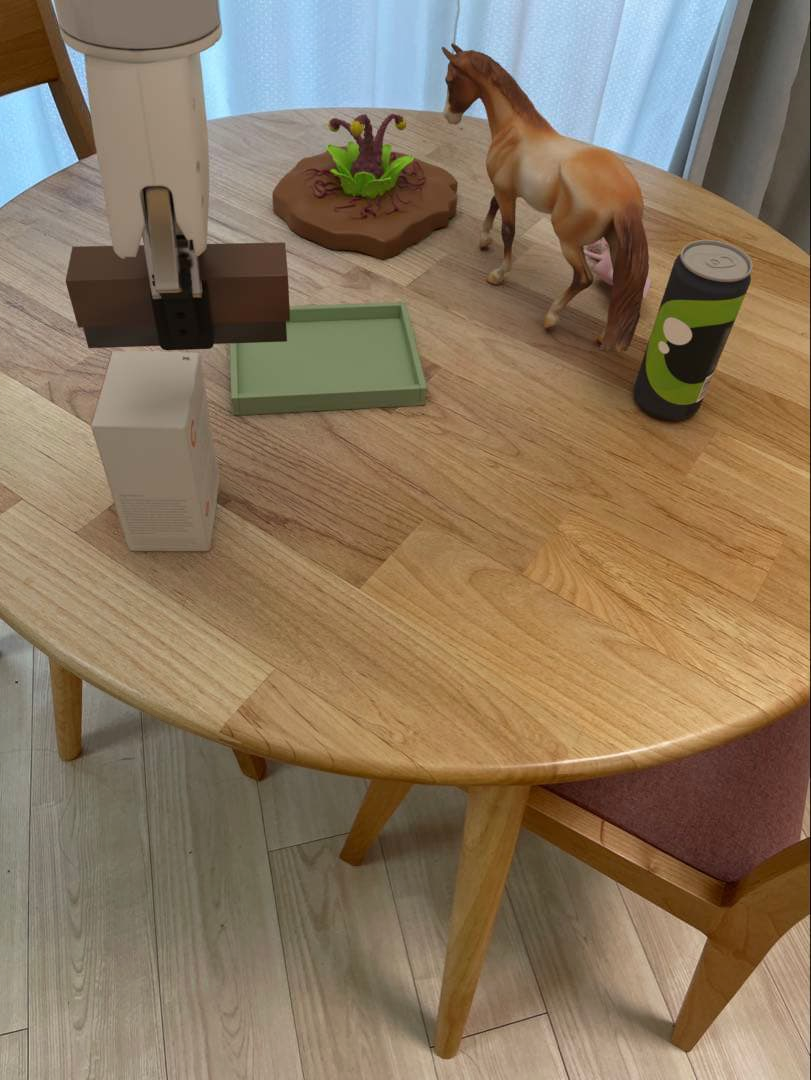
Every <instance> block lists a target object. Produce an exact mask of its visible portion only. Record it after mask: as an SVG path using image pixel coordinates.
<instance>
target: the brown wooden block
mask: <svg viewBox="0 0 811 1080" xmlns="http://www.w3.org/2000/svg"><path fill="white" fill-rule="evenodd" d="M198 258H199V266H200V274H201V282H202V287H207V291H208V298H209V306H210V314H211V321H212V329H213V336H214V345H227V344H228V345H230V344H231V343H260V342H286V341H287V329H286V321H290V306H291V305H290V290H289V289H290V287H289V271H288V260H287V248H286V242H284V241H283V242H282V241H281V242H237V243H235V242H234V243H232V242H231V243H207V247H206V249H205V251H204V252H203V253H202V254H201V255H200V256H198ZM178 259H179V266H180V268H187V271H188V273H189V267H188V259H187V257H178ZM65 284H66V288H67V293H68V296H69V299H70V304H71V307H72V310H73V314H74V318H75V322H76V325H77V328H79V329H80V328H81V329H82V331H83V334H84V337H85V341H86V345H87V348H88V349H108V348H109V349H111V348H138V347H139V348H140V347H160V344H159V339H158V334H157V329H156V323H155V318H154V313H153V307H152V302H151V297H150V289H151V287H150V281H149V274H148V268H147V262H146V256H145V252H144V244H140V245H139V248H138V252H137V255H136V257H128V258H127V259H122V258H120V257H119V256H118V255H117V254H116V253H115V252H114V250H113V245H81V246H78V245H77V246H75V245H74V246H72V247H71V252H70V255H69V261H68V265H67V271H66V276H65Z"/></svg>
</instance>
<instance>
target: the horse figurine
mask: <svg viewBox="0 0 811 1080" xmlns="http://www.w3.org/2000/svg"><path fill="white" fill-rule="evenodd" d="M450 46H451V48H452V49H453V51H454V53H455V54H454V53H452V52H451V51H450V50H448V49H447V48H446V47H445V46H441V50H442V53H443V54H444V56H445V57H446V58H447V60H448V61H449V62H448V63H447V73H446V76H445V77H444V81H445V83H446V86H447V88H446V99H445V103H444V109H443V110H442V114H443V117H444V119H445V120H446V121H447V123H448V124H449V125H456V126H457V125H459V124H460V123H461V121H462V119H463V118H462V117H463V115H464V114H465V113H466V112H467V111H468V110H469V108H471V106H472V105H473V104H474V103H475V102H476V101H477V100H478V99H480V100H481V102H482V105H483V107H484V109H485V113H486V118H487V121H488V126H489V130H490V137H491V143H490V145H489V147H488V150H487V154H486V159H485V168H486V174H487V176H488V178H489V180H490V182H491V184H492V186H493V194H494V195H493V196H492V198H491V199H490V202H489V209H488V212H487V214H486V216H485V218H484V220H483V222H482V231H481V233H480V240H479V242H478V247H479V248H484V247H487V246H490V245H492V244H493V240H494V237H493V234H492V233H491V230H492V229H493V228H494V227H493V226H494V221H495V219H496V216H497V213H498V211H499V212H500V216H501V226H500V232H501V233H500V234H501V239H502V242H503V257H502V261H501V263H500V266H499V268H495V269H493V270H492V271H491V272H490V273H489V274H488V276H487V277H486V281H487V282H488V283H490V284H493V285H500V284H502V282H503V280H505V274H508V273H510V272H511V270H512V267H513V266H512V250H513V243H514V239H515V236H516V210H517V209H516V208H517V207H516V206H517V198H521V199H523V200H524V202H526V204H528V205H529V206H530V207H531V208H532V209H533V210H535V211H537V212H538V213H539V212H540V213H542V214H545V215H550V223H551V225H552V229H553V231H554V234H555V236H556V237H557V238H558V240H559V244H560V250H561V253H562V255H563V257H564V259H565V260H566V262H567V263H568V264H569V266H570V267H571V268H572V270H573V276H572V281H571V283H570V285H569V286H568V287H567V288H566V290H565V291H564V292H563V293H561V294H560V295H559V296H558V297H557V298H555V299H554V300H553V301H552V303H551V306H550V308H549V310H548V311H547V313H546V315H545V320H544V323H543V328H544V329H548V328H551V327H553V326H555V325H558V324H559V323H560V315H559V312H561V311H564V309H565V308H566V307H567V305H568V304H569V303H570V302H571V301H572V300H573V299H574V298H575V297H576V296H577V295H578V294H580V293H581V292H582V291H584V290H587V289H588V288H590V287H591V286H592V285H593V282H594V280H595V279H594V278H595V276H594V274H593V271H592V270H591V268H590V267H589V264H588V262H587V258H586V255H585V254H584V250H583V249H584V247H585V246H586V247H587V245H589V244H592V243H595V242H597V241H599V240H600V239H601V238H603V237H604V239H605V240H606V241H607V243H608V245H609V250H610V257H611V263H612V268H613V286H612V289H611V292H610V295H609V301H608V310H607V319H606V326H605V329H604V330H603V331H602V332H601V333H599V335H598V336H597V337H596V338H597V341H599V343H600V345H599V347H598V351H599V352H602V351H605V352H606V353H607V352H610V351H611V350H612V349H614V350H615V351H616V352H617V353H620V352H626V351H627V350H628V348H629V347H630V346H631V343H632V340H633V339H634V335H635V333H636V330H637V325H638V323H639V320H640V317H641V315H640V314H641V307H642V302H643V300H644V298H643V292H644V287H645V284H646V279H647V276H648V275H649V269H650V264H649V261H650V255H649V244H648V239H647V235H646V230H645V227H644V223H643V215H644V208H645V203H644V198H643V193H642V190H641V189H642V188H641V186H640V185H639V182H638V181H637V179H636V178H635V176H634V175H633V173H632V172H631V171H630V169H629V168H628V167H627V166H626V164H625V163H624V162H623V160H622V159H621V158H620V157H619V156H617V154H615V153H614V152H612V151H611V150H609V149H607V148H603V147H597V146H589V145H585V144H582V143H580V142H577V141H574V140H572V139H569V138H567V137H565V136H563V135H561V134H560V133H559V132H558V131H557V130H556V129H555V128H554V127H553V126H552V125H551V124H550V123H549V121H548V120H547V119H546V118H545V117H544V116H543V115H542V114H541V113H540V112H539V111H538V110H537V109H536V107H535V105H534V103H533V101H532V100H531V99H530V98H529V96H528V95H527V93H526V92H525V91H524V90H523V89H522V87H521V86H520V85H519V84H518V82H517V80H516V79H515V78H514V77H513V75H511V74H510V73H509V72H508V70H506V69H505V68H504V67H503V66H502V65H501V64H500V63H499V62H498V61H496V60H495V59H494V58H493V57H492V56H490V55H488V54H485V53H484V52H481V51H476V50H474V49H469V50H464V49H462V48H461V47H460V46H459V45H457V44H455V43H454V42H452V43H451V44H450Z"/></svg>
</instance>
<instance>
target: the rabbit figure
mask: <svg viewBox="0 0 811 1080" xmlns="http://www.w3.org/2000/svg"><path fill="white" fill-rule="evenodd" d="M583 250H584V254H585V257H589V258H592V259H594V260H597V261H599V262H598V263H596V264H595V266H594V268H593V272H594V275H596V277H598V278H599V279H600V280H602V281H603V282H604V283H606V284H607V285H610V286H612V287H613V268H612V263H611V257H610V250H609V245H608V243H607V241H606V240H605V239H604V237H603V238H601V239H600V240H599V241H597V242H595V243H592V244H589V245H586V249H584V248H583ZM651 285H652V281H651V276H650V275H649V274H648V276H647V279H646V284H645V287H644V292H643V299H645V298H647V296H648V295H649V292H650V288H651Z"/></svg>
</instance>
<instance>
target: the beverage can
mask: <svg viewBox="0 0 811 1080" xmlns="http://www.w3.org/2000/svg"><path fill="white" fill-rule="evenodd" d="M753 267H754V264H753V261H752V259H751V257H750V256H749V255H748V254H747V253H746V252H745V251H743V249H740V248H739V247H737V246H735V245H733V244H730V243H727V242H724V241H720V240H713V239H698V240H694V241H691V242H688V243H687V244H685V245H684V246H683V247H682V249H681V251H680V254H678V255H677V256H676V258H675V260H674V261H673V265H672V268H671V271H670V274H669V278H668V280H667V283H666V287H665V289H664V293H663V296H662V299H661V302H660V305H659V308H658V310H657V314H656V317H655V320H654V324H653V326H652V330H651V333H650V336H649V338H648V342H647V345H646V348H645V350H644V354H643V358H642V361H641V364H640V367H639V370H638V372H637V376H636V379H635V382H634V385H633V397H634V398H635V400H636V401H637V404H638V405H639V408H641V409H642V410H643V411H644V412H645V413H647V414H648V415H650V416H652V417H654V418H656V419H659V420H662V421H663V420H664V421H680V420H683V419H686V418H688V417H690V416H693V415H694V414H695V413H697V412H698V411H699V409H700V408H701V405H702V404H703V403H702V402H703V400H704V398H705V397H706V396H705V395H706V393H707V391H708V388H709V385H710V383H711V381H712V378H713V376H714V373H715V371H716V369H717V366H718V364H719V362H720V358H721V356H722V354H723V351H724V349H725V346H726V344H727V341H728V339H729V336H730V335H731V332H732V329H733V327H734V324H735V322H736V319H737V318H738V314H739V312H740V310H741V307H742V305H743V302H744V299H745V297H746V295H747V292H748V290H749V287H750V285H751V281H752V276H751V273H752V270H753Z"/></svg>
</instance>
